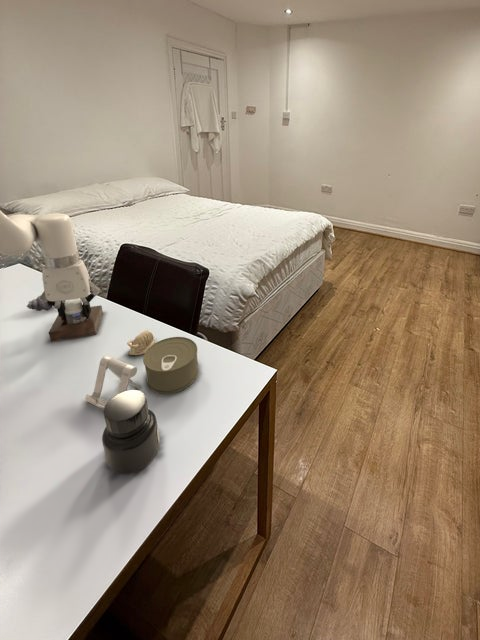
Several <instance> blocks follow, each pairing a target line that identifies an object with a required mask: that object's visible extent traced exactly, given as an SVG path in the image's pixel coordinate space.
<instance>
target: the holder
mask: <svg viewBox="0 0 480 640" xmlns="http://www.w3.org/2000/svg"><path fill="white" fill-rule="evenodd" d="M90 307H91V312H90V313H89V314H88V317H87V322H84V323H77V324H71V325H68V324H67V320H66V319H65V320H63V321H62V319H61V317H59V314H58V313H57V315H56V317H55V319H54V322H53V323H52V325H51V327H50V328H49V330H48V336H49V339H50V342H56V341H61V340H63V341H64V340H68V339H69V340H70V339H75V338H81V337H82V338H83V337H88V336H93V335H97V332H98V330H99V327H100V323H101V321H102V318H103V315H104V311H103V306H102V305H94V306H90Z"/></svg>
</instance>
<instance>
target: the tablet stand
mask: <svg viewBox="0 0 480 640" xmlns="http://www.w3.org/2000/svg"><path fill="white" fill-rule="evenodd" d="M107 370H109V371H110V372H111V373H112V374H114V376H116V377H117V378H118V379H119V385H118V390H117V394H119V393H122V392H124V391H128V385H129V384H130V385H131V386H132V387H134V388H136V389H138V388H139V385H137V384H136V383H135V382H134V381H133V380H132V379H131V378H133V377H134V376H136V374H137V372H138V368H137V367H136V366H134V365H131V364H129V363H126V362H124V361H122V360H119V359H117V358H115V357H113V356H112V357H111V356H110V355H104V356H102V358H101V359H100V360H99V364H98V370H97V373H96V378H95V379H96V380H95V384H94V388H93V391H92V395H89V394H85V401H86V402H87V403H90V404H92V405H94V406H95V407H98V408H100V409H102V410H104V408H105V405H106V404H107V403H108V402H109V400H106V399H104V398H101V396H102V391H103V386H104V382H105V377H106V372H107Z"/></svg>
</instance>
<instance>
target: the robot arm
mask: <svg viewBox="0 0 480 640" xmlns="http://www.w3.org/2000/svg"><path fill="white" fill-rule="evenodd" d="M34 242H39V244H40V248H41V252H42V256H38V257H37V263H43V264H44V265H43V266H42V270H41V271H42V273H41V274H42V283H43V285H42V286H43V292H42V293H41V294H40V295H41V296H40V295H39V296H40V298H39V300H41V301H44V302H47V303H48V304H50V305H52V307H53V308H54V309H56V310H57V315H58V314H59V317H61V319H62V321H63V320H65V319H66V316H65V303H63V300H66V301H68V300H71V299H81V302H82V310H83V314H84V317H88V314H89V313H90V312H91V307H92V306H91V301H92V300H93V299H94V298H96V297H97V296H98V295H99V294H100V293H101V288H100V287H98V286H97V285H96V284H94V283H93V282H92V280H91V277H90V274H89V271H88V269H87V266H86V264H85V262H84V261H83V259H81V257H80V254H79V250H78V245H77V241H76V236H75V231H74V226H73V221H72V219H71V217H70V216H69V215H68V214H66V213H61V212H53V213H46V214H25V213H24V214H23V213H21V214H20V213H19V214H12V215H9V216H7V215H6V214H5V213H4V212H2V210H0V254H1V255H4V256H9V257H10V256H12V257H14V256H15V257H16V256H19V255H23V254H25V253H26V252H28V251H29V250H30V249H31V247H32V246H33V245H34ZM91 291H92V292H91Z"/></svg>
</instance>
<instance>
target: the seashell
mask: <svg viewBox="0 0 480 640" xmlns="http://www.w3.org/2000/svg"><path fill="white" fill-rule="evenodd" d="M41 295H42V294H40V295H38V296H37V297H36V298H34V299H32V300H29V301H28V304H27V305H26V308H27V309H28V310H32V311H33V310H35V311H38V312H41V311H45V312H48V311H50V310H51V309H52V308H53V306H52V305H50V304H48V303H47V302H44V301H41V300H39V298H40V296H41ZM65 302H67V300H63V303H65Z"/></svg>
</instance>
